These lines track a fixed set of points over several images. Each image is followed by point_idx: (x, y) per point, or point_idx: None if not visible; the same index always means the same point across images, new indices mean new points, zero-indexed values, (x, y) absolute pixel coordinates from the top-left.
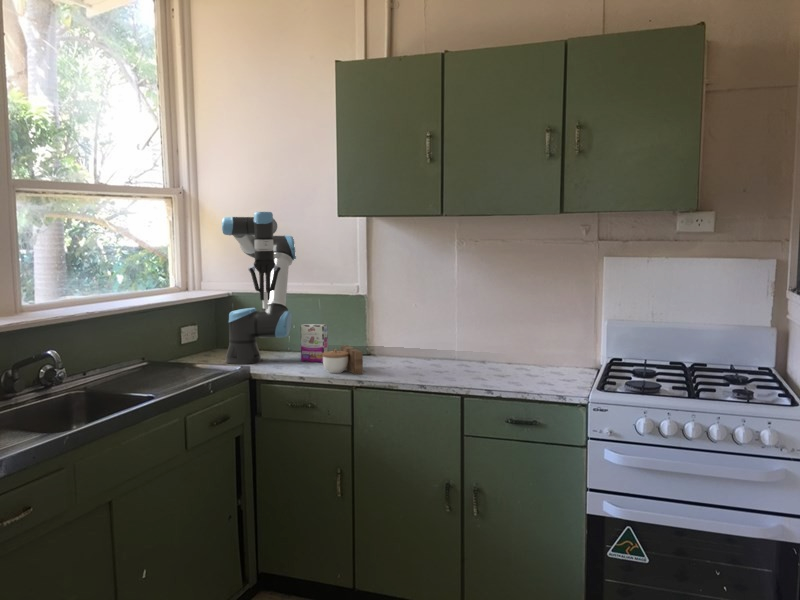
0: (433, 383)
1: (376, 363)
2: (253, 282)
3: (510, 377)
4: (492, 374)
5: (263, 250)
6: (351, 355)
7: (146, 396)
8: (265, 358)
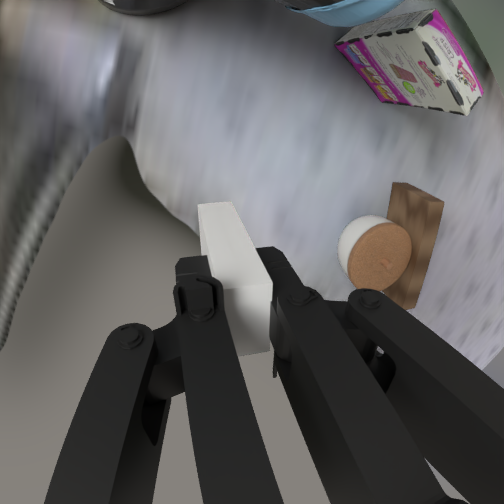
0: None
1: (459, 178)
2: (69, 447)
3: (482, 335)
4: (486, 317)
5: None
6: (401, 278)
7: None
8: None
